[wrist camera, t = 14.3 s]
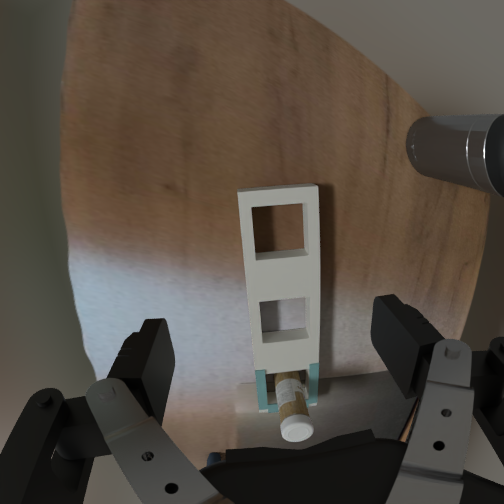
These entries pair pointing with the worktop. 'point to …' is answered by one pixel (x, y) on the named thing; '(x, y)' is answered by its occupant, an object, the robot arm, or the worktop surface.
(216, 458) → the vaping device
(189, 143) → the worktop surface
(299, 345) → the rail
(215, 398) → the worktop surface
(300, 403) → the sprinkles bottle
